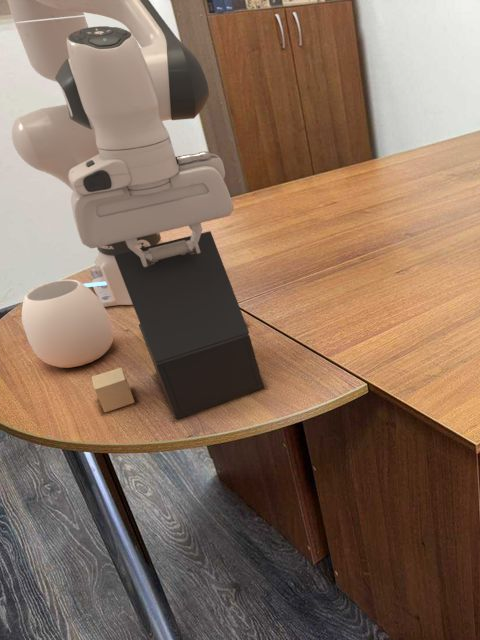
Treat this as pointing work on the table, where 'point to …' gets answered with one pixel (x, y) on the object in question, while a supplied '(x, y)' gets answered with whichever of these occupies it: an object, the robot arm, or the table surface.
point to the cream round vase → (66, 323)
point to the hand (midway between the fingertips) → (171, 259)
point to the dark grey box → (209, 375)
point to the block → (112, 389)
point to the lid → (182, 297)
